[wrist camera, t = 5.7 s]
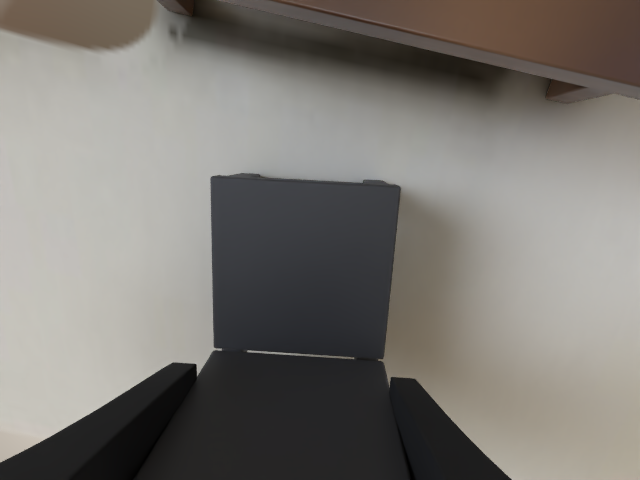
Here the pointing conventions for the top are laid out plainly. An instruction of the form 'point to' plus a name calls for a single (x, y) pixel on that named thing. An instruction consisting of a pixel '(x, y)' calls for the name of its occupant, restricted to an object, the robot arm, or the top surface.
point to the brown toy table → (495, 35)
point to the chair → (293, 339)
